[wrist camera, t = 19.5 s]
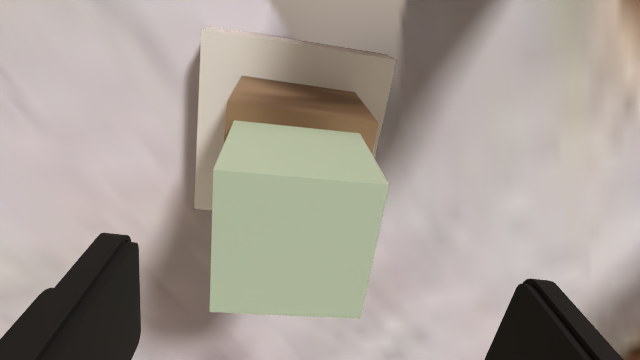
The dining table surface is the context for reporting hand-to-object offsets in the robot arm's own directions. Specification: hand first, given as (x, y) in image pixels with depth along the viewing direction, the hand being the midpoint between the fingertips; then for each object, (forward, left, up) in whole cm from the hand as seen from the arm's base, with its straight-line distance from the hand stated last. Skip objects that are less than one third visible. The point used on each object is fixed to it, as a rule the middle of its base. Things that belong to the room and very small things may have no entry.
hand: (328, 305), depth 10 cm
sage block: (+1, 0, -8) cm, 8 cm away
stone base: (+1, 0, -16) cm, 16 cm away
